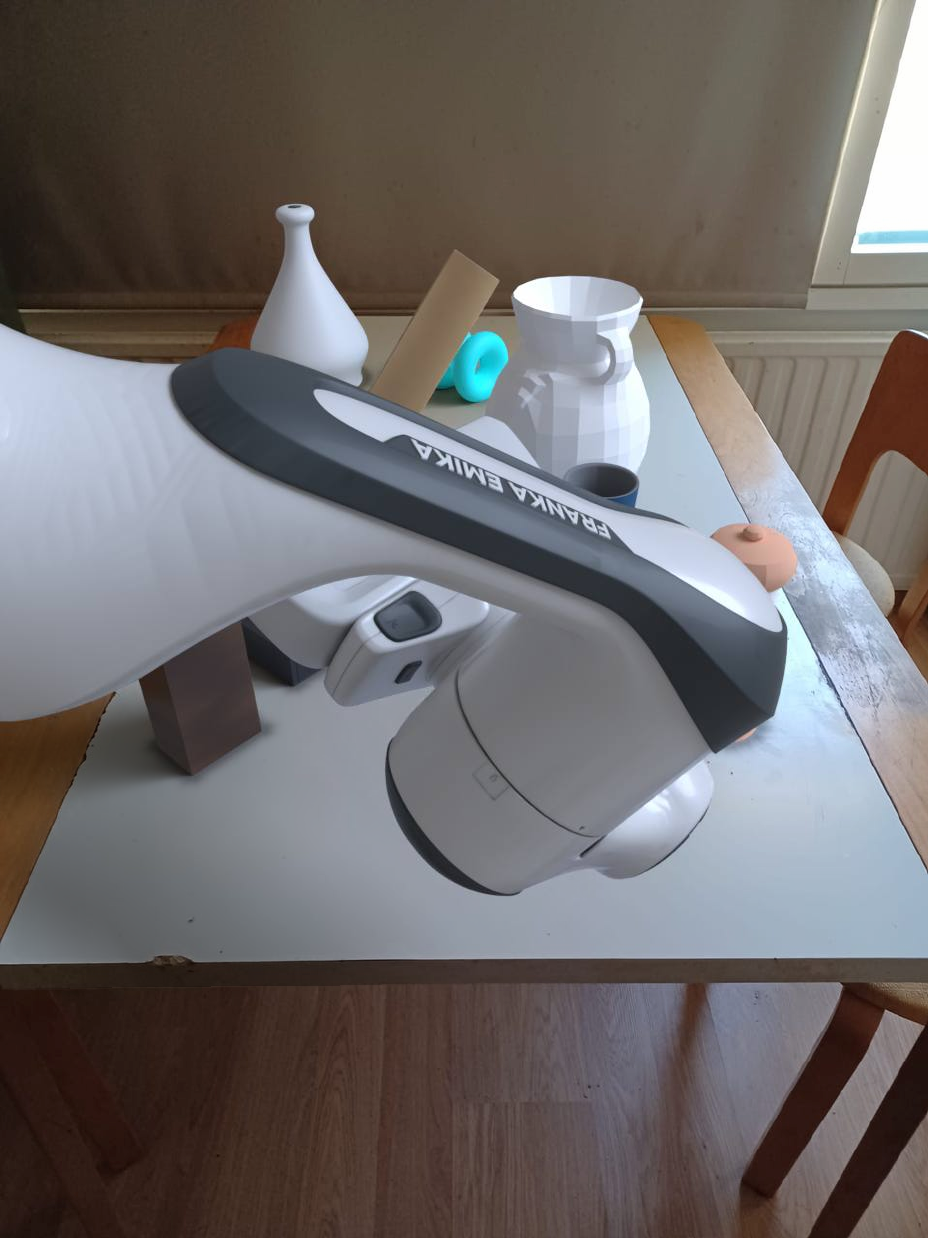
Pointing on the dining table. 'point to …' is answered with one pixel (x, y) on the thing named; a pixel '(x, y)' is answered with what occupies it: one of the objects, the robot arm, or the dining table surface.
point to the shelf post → (203, 700)
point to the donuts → (465, 362)
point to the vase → (309, 310)
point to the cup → (606, 481)
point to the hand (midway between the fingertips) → (314, 425)
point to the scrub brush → (435, 333)
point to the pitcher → (574, 375)
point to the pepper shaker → (760, 557)
